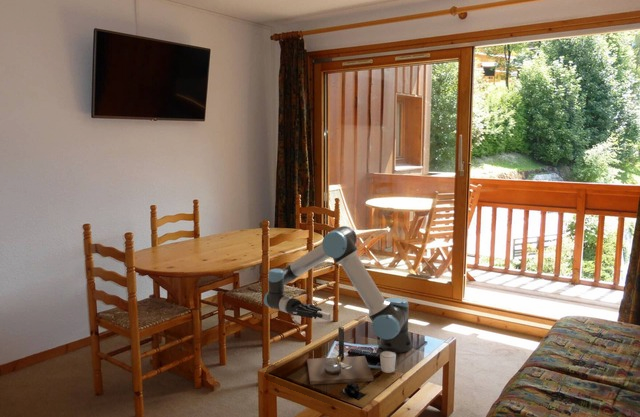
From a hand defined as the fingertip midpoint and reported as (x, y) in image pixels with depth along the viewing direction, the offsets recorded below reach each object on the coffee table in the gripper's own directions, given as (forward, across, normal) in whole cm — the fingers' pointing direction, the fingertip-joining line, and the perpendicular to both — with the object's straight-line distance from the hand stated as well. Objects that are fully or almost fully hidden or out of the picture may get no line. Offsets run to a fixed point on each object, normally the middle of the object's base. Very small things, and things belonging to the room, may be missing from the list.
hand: (329, 317), depth 218 cm
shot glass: (+27, -7, -19) cm, 34 cm away
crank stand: (+11, +7, -19) cm, 23 cm away
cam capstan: (+10, +7, -17) cm, 21 cm away
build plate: (+27, +18, -20) cm, 38 cm away
